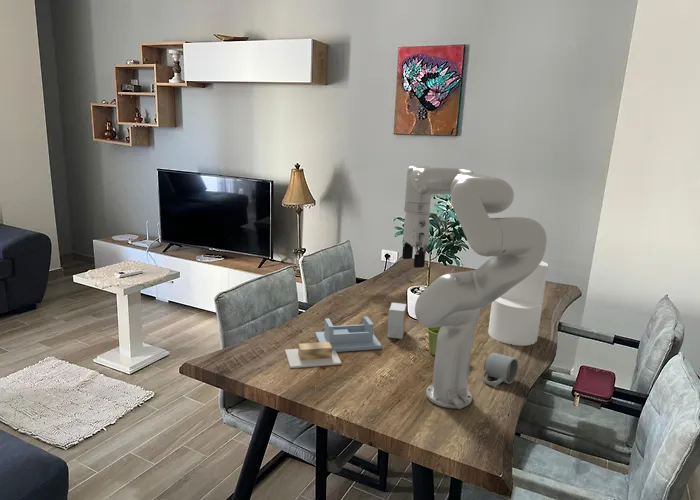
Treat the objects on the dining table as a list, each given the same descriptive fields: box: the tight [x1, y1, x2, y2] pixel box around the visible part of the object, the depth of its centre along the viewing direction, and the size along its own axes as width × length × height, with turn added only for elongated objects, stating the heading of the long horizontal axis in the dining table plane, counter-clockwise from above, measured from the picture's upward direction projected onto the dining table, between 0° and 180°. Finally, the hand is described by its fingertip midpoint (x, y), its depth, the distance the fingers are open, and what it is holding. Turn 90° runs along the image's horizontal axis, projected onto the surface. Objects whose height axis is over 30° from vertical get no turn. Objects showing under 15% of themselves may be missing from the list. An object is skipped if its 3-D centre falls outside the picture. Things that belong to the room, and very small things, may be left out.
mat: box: [284, 348, 342, 369], centre depth 163 cm, size 12×16×1 cm
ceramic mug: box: [482, 352, 519, 387], centre depth 154 cm, size 11×8×8 cm
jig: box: [314, 315, 383, 353], centre depth 175 cm, size 20×14×8 cm
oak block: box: [297, 342, 332, 360], centre depth 163 cm, size 10×4×4 cm, turn 105°
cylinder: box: [488, 260, 549, 346], centre depth 185 cm, size 17×17×28 cm
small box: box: [386, 302, 407, 340], centre depth 183 cm, size 8×6×10 cm
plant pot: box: [425, 327, 441, 356], centre depth 170 cm, size 9×9×9 cm
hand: (412, 262), depth 157 cm, fingers open, 9 cm apart
